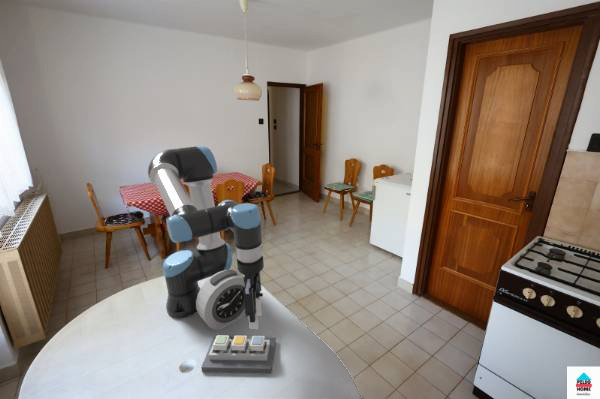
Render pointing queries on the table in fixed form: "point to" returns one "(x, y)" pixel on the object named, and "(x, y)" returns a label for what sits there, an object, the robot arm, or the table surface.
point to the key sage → (221, 342)
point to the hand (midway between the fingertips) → (255, 321)
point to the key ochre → (239, 342)
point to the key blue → (257, 343)
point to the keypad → (240, 358)
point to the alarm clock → (221, 299)
